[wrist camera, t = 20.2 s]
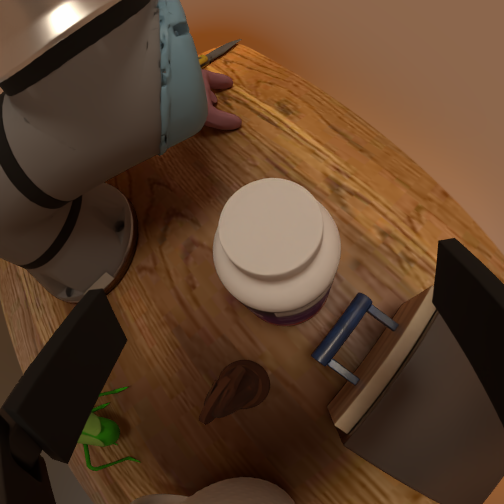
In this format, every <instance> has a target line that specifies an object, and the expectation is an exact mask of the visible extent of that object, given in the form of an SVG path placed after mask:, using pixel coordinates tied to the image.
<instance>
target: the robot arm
mask: <svg viewBox="0 0 504 504" xmlns="http://www.w3.org/2000/svg"><path fill="white" fill-rule="evenodd" d="M0 87H1V88H2V89H3V91H4V92H3V93H2V94H0V258H2V259H4V260H6V261H9V262H11V263H13V264H16V265H18V266H20V267H23V268H25V269H27V271H28V272H29V273H30V274H31V275H32V276H33V277H34V278H35V279H36V280H37V281H38V282H39V283H40V284H41V285H42V286H43V287H44V288H45V289H46V290H47V291H48V292H49V293H51V294H52V295H54V296H55V297H56V298H58V299H60V300H63V301H66V302H69V303H72V304H77V305H76V306H75V307H74V309H73V310H72V311H71V312H70V314H69V315H68V316H67V317H66V319H65V320H64V321H63V322H62V324H61V325H60V326H59V328H58V329H57V330H56V332H55V333H54V334H53V335H52V337H51V338H50V339H49V341H48V342H47V343H46V345H45V346H44V347H43V349H42V350H41V352H40V353H39V354H38V356H37V357H36V358H35V360H34V361H33V362H32V363H31V364H30V366H29V367H28V368H27V370H26V371H25V373H24V375H23V376H22V377H21V379H20V380H19V383H18V384H16V386H15V387H14V389H13V390H12V392H11V393H10V395H9V396H8V398H7V399H6V401H5V403H4V404H3V406H2V407H1V409H0V504H56V502H55V499H54V495H53V492H52V488H51V484H50V480H49V476H48V472H47V468H46V463H45V461H44V458H43V457H41V455H40V453H41V451H42V450H43V451H44V452H45V453H47V454H48V455H49V456H50V457H51V458H52V459H54V460H58V461H60V462H63V463H67V464H68V463H69V460H70V458H71V456H72V453H73V451H74V449H75V447H76V444H77V442H78V440H79V438H80V435H81V433H82V431H83V429H84V427H85V424H86V422H87V420H88V418H89V416H90V414H91V412H92V409H93V407H94V405H95V403H96V401H97V399H98V397H99V395H100V393H101V391H102V389H103V387H104V385H105V383H106V381H107V379H108V377H109V375H110V373H111V371H112V369H113V367H114V365H115V363H116V361H117V359H118V357H119V355H120V353H121V351H122V349H123V348H124V346H125V344H126V342H127V338H126V336H125V334H124V332H123V330H122V328H121V326H120V324H119V322H118V320H117V318H116V316H115V314H114V312H113V310H112V307H111V305H110V303H109V301H108V299H107V296H106V294H107V293H109V292H110V291H111V290H112V289H113V288H114V287H115V286H116V285H117V284H118V282H119V281H120V280H121V278H122V277H123V276H124V274H125V272H126V271H127V269H128V267H129V265H130V263H131V260H132V258H133V255H134V252H135V248H136V243H137V236H138V223H137V216H136V213H135V210H134V208H133V206H132V204H131V202H130V201H129V200H128V199H127V198H126V197H125V196H124V195H123V194H122V193H121V192H120V191H119V190H118V189H117V188H115V187H113V186H111V185H109V184H107V183H104V182H105V181H107V180H109V179H111V178H112V177H114V176H116V175H118V174H120V173H122V172H124V171H125V170H127V169H129V168H131V167H133V166H135V165H137V164H139V163H141V162H143V161H145V160H147V159H149V158H151V157H153V156H155V155H157V154H158V155H159V156H160V155H163V154H164V153H165V152H166V150H167V149H168V148H170V147H172V146H174V145H176V144H178V143H180V142H182V141H184V140H186V139H187V138H189V137H191V136H193V135H195V134H196V133H198V132H199V131H200V130H201V129H202V127H203V125H204V124H205V122H206V119H207V116H208V102H207V96H206V90H205V85H204V80H203V75H202V71H201V67H200V63H199V59H198V55H197V51H196V48H195V45H194V41H193V38H192V36H191V35H190V33H189V27H188V24H187V21H186V16H185V13H184V10H183V8H182V5H181V3H180V1H179V0H0ZM432 303H433V305H434V306H435V307H436V309H437V311H438V312H439V314H440V315H441V317H442V318H443V320H444V321H445V323H446V324H447V326H448V327H449V329H450V331H451V332H452V334H453V335H454V337H455V339H456V340H457V342H458V344H459V345H460V347H461V349H462V350H463V352H464V354H465V355H466V357H467V359H468V360H469V362H470V364H471V366H472V367H473V369H474V371H475V373H476V374H477V376H478V378H479V380H480V382H481V384H482V385H483V387H484V389H485V391H486V393H487V395H488V397H489V399H490V401H491V403H492V405H493V407H494V409H495V411H496V413H497V415H498V417H499V419H500V421H501V423H502V425H503V427H504V284H503V283H502V282H501V281H500V280H499V279H498V278H497V277H496V276H495V275H494V274H493V273H492V272H491V271H490V270H489V269H488V268H487V267H486V266H485V265H484V264H483V263H482V262H481V261H480V260H478V259H477V258H476V257H475V256H474V255H473V254H472V253H471V252H470V251H469V250H468V249H467V248H465V247H464V246H463V245H462V244H461V243H460V242H459V241H458V240H456V239H455V238H452V239H446V240H440V241H438V253H437V264H436V274H435V282H434V290H433V297H432Z"/></svg>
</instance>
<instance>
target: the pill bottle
mask: <svg viewBox="0 0 504 504" xmlns="http://www.w3.org/2000/svg"><path fill="white" fill-rule="evenodd" d="M340 254H341V242H340V236H339V232H338V229H337V226H336V224H335V222H334V220H333V218H332V216H331V215H330V213H329V212H328V211H327V210H326V208H325V207H324V206H323V205H322V204H321V203H320V202H318V201H317V200H316V199H315V198H314V197H313V196H312V194H311V193H310V192H308V191H307V190H306V189H305V188H304V187H302V186H301V185H299V184H297V183H294V182H292V181H289V180H285V179H280V178H268V179H261V180H257V181H254V182H251V183H249V184H247V185H245V186H244V187H242V188H240V189H239V190H238V191H236V192H235V193H234V194H233V195H232V196H231V197H230V199H229V200H228V201H227V203H226V204H225V206H224V208H223V210H222V212H221V215H220V219H219V226H218V228H217V231H216V234H215V237H214V243H213V259H214V264H215V268H216V271H217V274H218V276H219V278H220V280H221V282H222V283H223V285H224V286H225V287H226V289H227V290H228V291H229V292H230V293H231V294H232V295H233V296H234V297H235V298H236V299H237V300H239V301H240V302H241V303H242V304H244V305H245V306H246V307H247V308H248V309H250V310H251V311H252V312H253V313H254V314H256V315H257V316H258V317H259V318H261V319H263V320H264V321H266V322H268V323H271V324H274V325H279V326H291V325H297V324H300V323H303V322H305V321H307V320H309V319H310V318H312V317H313V316H314V315H315V314H316V313H317V312H319V310H320V309H321V308H322V307H323V305H324V303H325V302H326V299H327V297H328V294H329V291H330V288H331V285H332V283H333V280H334V277H335V274H336V271H337V269H338V265H339V261H340Z"/></svg>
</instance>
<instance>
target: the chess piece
mask: <svg viewBox="0 0 504 504" xmlns="http://www.w3.org/2000/svg"><path fill="white" fill-rule="evenodd" d="M269 389H270V382H269V377H268V375H267V373H266V371H265V370H264V369H263V367H261V366H260V365H259V364H257V363H255V362H253V361H250V360H239V361H235V362H233V363H231V364H229V365H228V366H227V367H225V368H224V370H223V371H222V372H221V374H220V376H219V379H218V381H216V380H215V381H214V382H213V385H212V387H211V389H210V391H209V393H208V394H207V397H206V399H205V402H204V408H203V410H202V412H201V414H200V416H199V421H200V422H202V423H203V424H205V425H206V424H208V423H210V422H211V421H213V420H214V419H215V418H221V417H225V416H227V415H230V414H232V413H233V412H235V411H237V410H239V409H248V408H252V407H255V406H257V405H259V404H260V403H261V402H262V401H263V400H264V399H265V398H266V396H267V395H268V392H269Z"/></svg>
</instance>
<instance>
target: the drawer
mask: <svg viewBox="0 0 504 504" xmlns="http://www.w3.org/2000/svg"><path fill="white" fill-rule="evenodd" d="M433 290H434V286H433V285H432V286H430V287H429V288H427V289H426V290H424V291H423V292H421V293H420V294H418V295H416V296H415V297H413V298H412V299H410V300H408V301H407V302H405V303H404V304H402V305H401V307H400V308H399V310H398V311H397V313H396V314H395V316H394V317H393V319H391V318H389V317H388V316H387V315H385V314H384V313H383V312H381V311H380V310H379V309H377V308H376V307H375V306H373V305H371V304H372V301H371V299H370V298H369V297H367V296H366V295H364V294H363V293H357V295H356V296H355V298H354V299H353V301H352V302H351V303H350V305H349V306H348V308H347V309H346V310H345V312H344V313H343V314H342V316H341V317H340V318H339V320H338V321H337V322H336V324H335V325H334V326H333V328H332V329H331V330H330V332H329V333H328V334H327V336H326V337H325V338H324V340H323V341H322V342H321V343H320V345H319V346H318V347H317V349H316V350H315V351H314V352H313V354H312V355H311V356H312V357H313V358H314V359H315V360H317V361H318V362H319V363H321V364H322V365H323V366H326V365H328V366H329V367H331V368H332V369H333V370H335V371H336V372H337V373H339V374H340V375H341V376H343V377H344V378H345V379H347V380H348V381H347V383H346V384H345V385H344V386H343V388H342V389H341V390H340V391H339V393H338V394H337V395H336V396H335V398H334V399H333V400H332V401H331V402H330V404H329V405H328V406H327V408H328V410H329V413H330V415H331V418H332V420H333V423H334V425H335V426H336V427H338V428H339V429H340V430H342V431H343V432H345V433H346V434H348V433H349V432H350V431H351V430H352V429H353V427H354V426H355V425H356V424H357V423H358V422H360V421H361V419H362V418H363V417H364V416H365V415H366V413H367V412H368V411H369V410H370V408H371V407H372V406H373V405H374V403H375V402H376V401H377V399H378V398H379V397H380V396H381V394H382V393H383V392H384V390H385V389H386V388H387V386H388V385H389V383H390V382H391V381H392V379H393V378H394V377H395V375H396V374H397V372H398V371H399V369H400V368H401V367H402V365H403V364H404V362H405V361H406V359H407V358H408V356H409V355H410V353H411V352H412V350H413V349H414V347H415V346H416V344H417V342H418V341H419V339H420V338H421V336H422V334H423V333H424V331H425V330H426V328H427V326H428V325H429V323H430V322H429V321H430V319H431V317H432V316H433V314H434V312H435V311H436V307H435V306H434V305H433V303H432V297H433ZM366 312H367V313H369V314H370V315H371V316H373V317H374V318H375V319H377V320H378V321H379V322H381V323H382V324H383V325H385V326H386V327H387V328H386V329H385V331H384V332H383V334H382V335H381V337H380V338H379V340H378V341H377V342H376V344H375V345H374V347H373V348H372V350H371V351H370V352H369V354H368V355H367V356H366V358H365V359H364V360H363V362H362V363H361V365H360V366H359V367H358V368H357V370H356V371H355V372H354V374H353V373H351V372H350V371H349V370H347V369H346V368H344V367H343V366H342V365H340V364H339V363H338V362H336V361H335V360H334V359H332V358H333V357H334V355H335V354H336V353H337V351H338V350H339V349H340V347H341V346H342V345H343V343H344V342H345V341H346V339H347V338H348V337H349V335H350V334H351V333H352V331H353V330H354V329H355V327H356V326H357V324H358V323H359V322H360V320H361V319H362V317H363V316H364V315H365V313H366Z"/></svg>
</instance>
